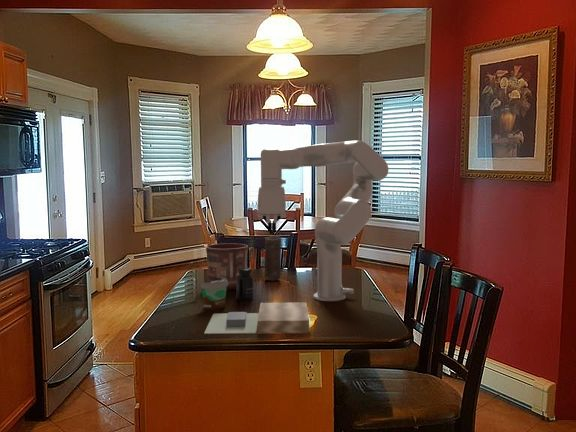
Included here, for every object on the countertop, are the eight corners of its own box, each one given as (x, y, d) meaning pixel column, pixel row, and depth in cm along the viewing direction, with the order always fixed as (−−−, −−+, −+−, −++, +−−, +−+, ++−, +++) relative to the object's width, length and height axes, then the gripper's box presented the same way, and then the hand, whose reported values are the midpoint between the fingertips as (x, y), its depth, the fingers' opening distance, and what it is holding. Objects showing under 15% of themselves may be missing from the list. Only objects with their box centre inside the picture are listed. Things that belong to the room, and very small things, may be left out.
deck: (306, 313, 186) (306, 302, 185) (309, 333, 164) (309, 320, 163) (260, 314, 186) (260, 302, 185) (257, 333, 164) (257, 320, 163)
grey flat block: (228, 312, 178) (228, 319, 178) (226, 319, 169) (226, 327, 169) (246, 311, 178) (246, 319, 178) (245, 319, 169) (245, 327, 170)
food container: (214, 312, 189) (213, 284, 188) (201, 309, 192) (200, 282, 191) (235, 304, 199) (234, 278, 198) (222, 302, 202) (222, 276, 201)
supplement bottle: (251, 301, 203) (250, 270, 202) (234, 300, 205) (233, 270, 204) (256, 297, 210) (255, 267, 209) (239, 296, 211) (239, 266, 210)
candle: (284, 280, 241) (283, 236, 240) (275, 283, 235) (274, 238, 233) (270, 278, 246) (269, 235, 244) (261, 281, 239) (260, 237, 238)
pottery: (238, 293, 217) (237, 249, 216) (199, 290, 223) (199, 247, 221) (254, 284, 234) (254, 244, 232) (218, 281, 239) (217, 242, 238)
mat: (259, 314, 186) (259, 313, 186) (255, 333, 164) (255, 332, 164) (213, 314, 185) (213, 313, 185) (204, 334, 164) (204, 333, 164)
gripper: (291, 182, 195) (292, 232, 197) (251, 183, 195) (252, 232, 197) (292, 183, 188) (292, 234, 189) (250, 183, 188) (250, 235, 189)
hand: (271, 233), depth 193 cm, fingers closed
